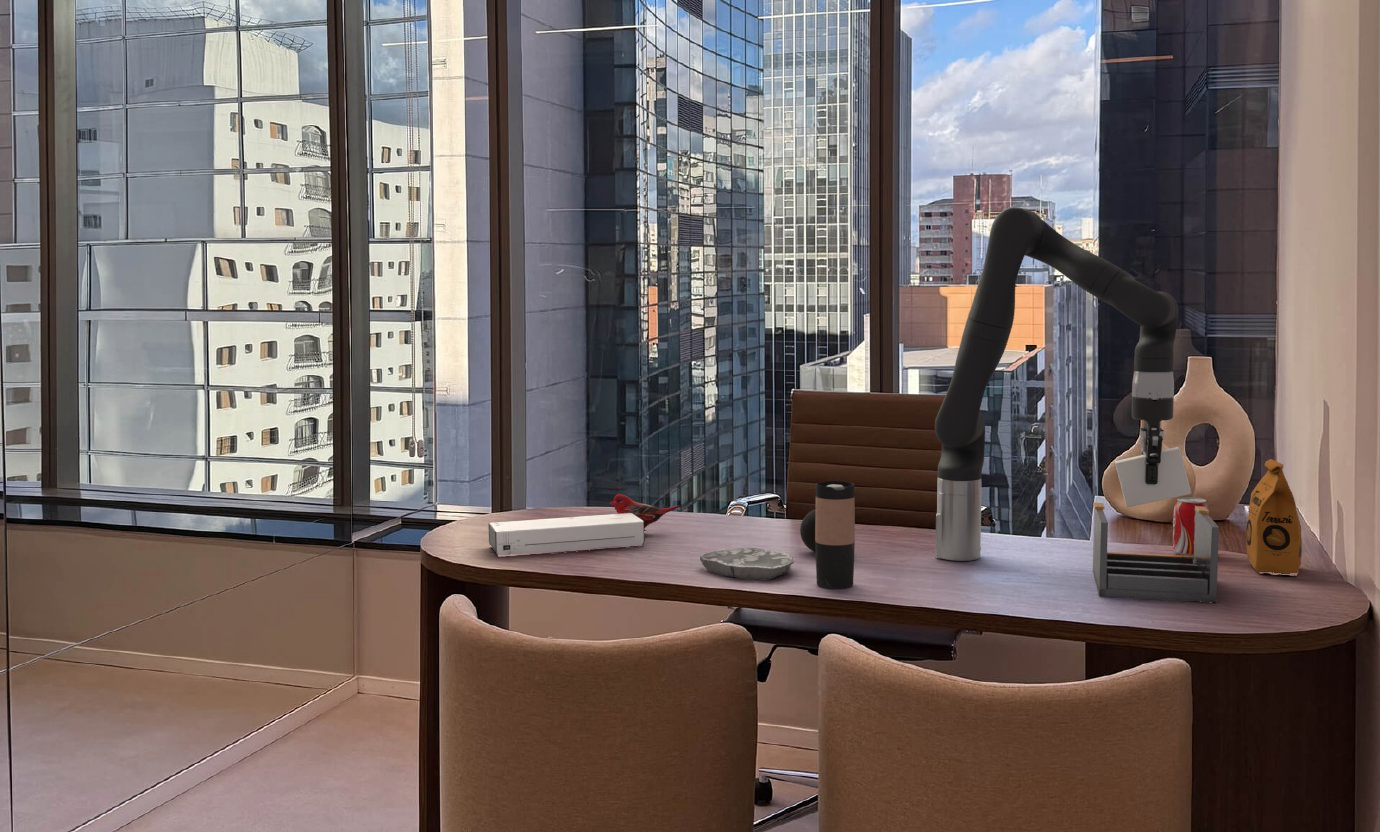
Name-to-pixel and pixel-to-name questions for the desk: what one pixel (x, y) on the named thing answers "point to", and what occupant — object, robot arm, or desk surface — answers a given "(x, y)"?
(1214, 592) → the rack
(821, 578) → the travel mug
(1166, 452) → the panel
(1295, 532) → the coffee package
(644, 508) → the decorative bird figurine
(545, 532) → the laminator
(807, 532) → the speaker
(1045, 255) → the robot arm
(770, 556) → the brain slice
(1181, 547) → the soda can
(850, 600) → the desk surface
